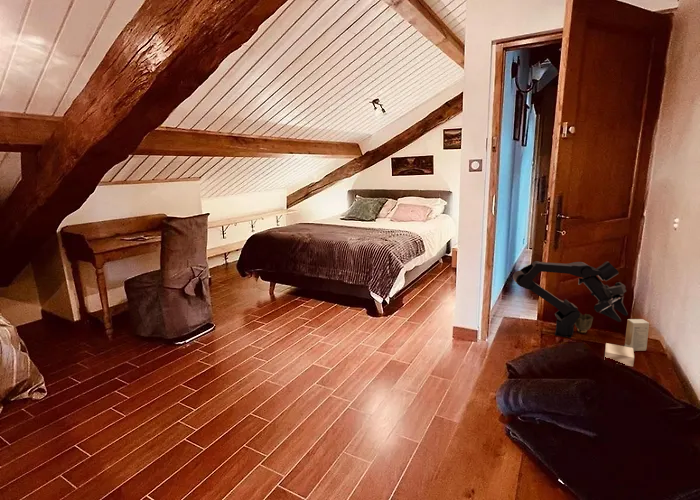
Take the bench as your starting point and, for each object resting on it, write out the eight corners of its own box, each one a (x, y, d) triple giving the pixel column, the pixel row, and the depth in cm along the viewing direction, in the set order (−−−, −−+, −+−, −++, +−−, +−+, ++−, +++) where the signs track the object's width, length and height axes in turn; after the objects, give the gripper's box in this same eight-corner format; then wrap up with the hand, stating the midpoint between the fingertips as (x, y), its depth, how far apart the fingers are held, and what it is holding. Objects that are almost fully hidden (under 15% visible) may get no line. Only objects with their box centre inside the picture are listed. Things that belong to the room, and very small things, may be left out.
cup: (591, 330, 178) (593, 314, 176) (591, 337, 172) (593, 320, 170) (573, 327, 182) (574, 311, 180) (572, 333, 176) (573, 316, 174)
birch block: (604, 361, 151) (605, 352, 151) (604, 352, 159) (605, 343, 158) (632, 367, 146) (634, 357, 146) (632, 357, 154) (633, 348, 153)
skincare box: (639, 346, 162) (643, 318, 159) (646, 351, 158) (650, 322, 155) (623, 346, 163) (626, 318, 160) (629, 350, 158) (633, 322, 156)
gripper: (605, 282, 156) (635, 315, 150) (620, 272, 168) (648, 303, 162) (582, 296, 164) (609, 328, 158) (598, 286, 175) (624, 315, 170)
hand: (623, 318), depth 162 cm, fingers open, 9 cm apart
